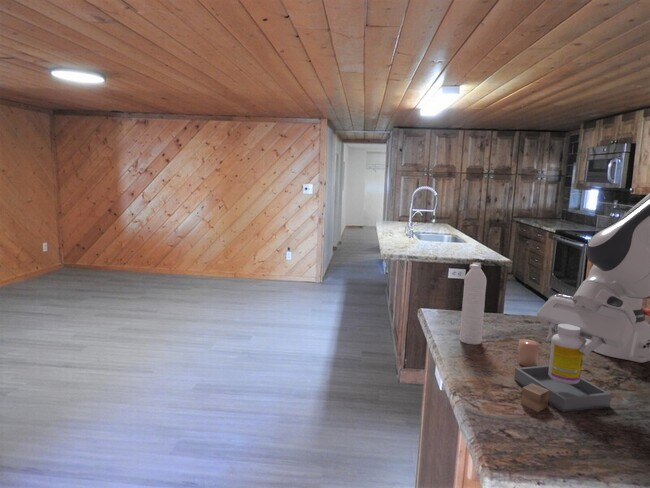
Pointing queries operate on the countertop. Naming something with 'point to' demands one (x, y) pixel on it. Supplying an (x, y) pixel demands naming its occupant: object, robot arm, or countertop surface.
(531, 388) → the walnut block
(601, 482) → the countertop surface
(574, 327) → the supplement bottle
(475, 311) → the water bottle
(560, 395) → the tray
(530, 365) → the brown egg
